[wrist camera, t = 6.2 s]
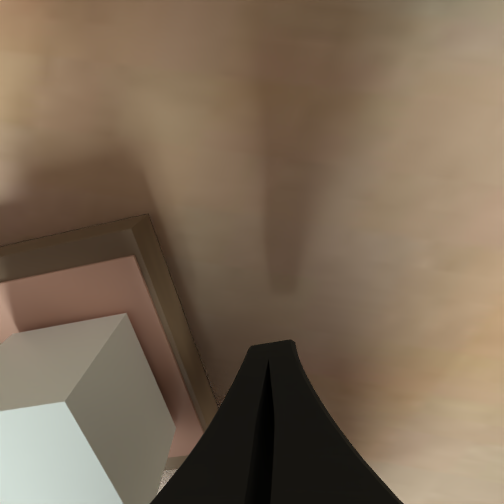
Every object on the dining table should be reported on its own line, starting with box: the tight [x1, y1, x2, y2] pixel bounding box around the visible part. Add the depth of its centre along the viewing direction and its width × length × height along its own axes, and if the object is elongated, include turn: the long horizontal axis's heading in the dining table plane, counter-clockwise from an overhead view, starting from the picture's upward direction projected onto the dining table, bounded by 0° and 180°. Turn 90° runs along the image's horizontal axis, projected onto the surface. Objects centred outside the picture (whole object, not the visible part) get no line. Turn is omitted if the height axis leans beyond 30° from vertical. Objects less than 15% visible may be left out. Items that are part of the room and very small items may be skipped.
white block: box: [0, 313, 176, 504], centre depth 10 cm, size 5×4×4 cm
